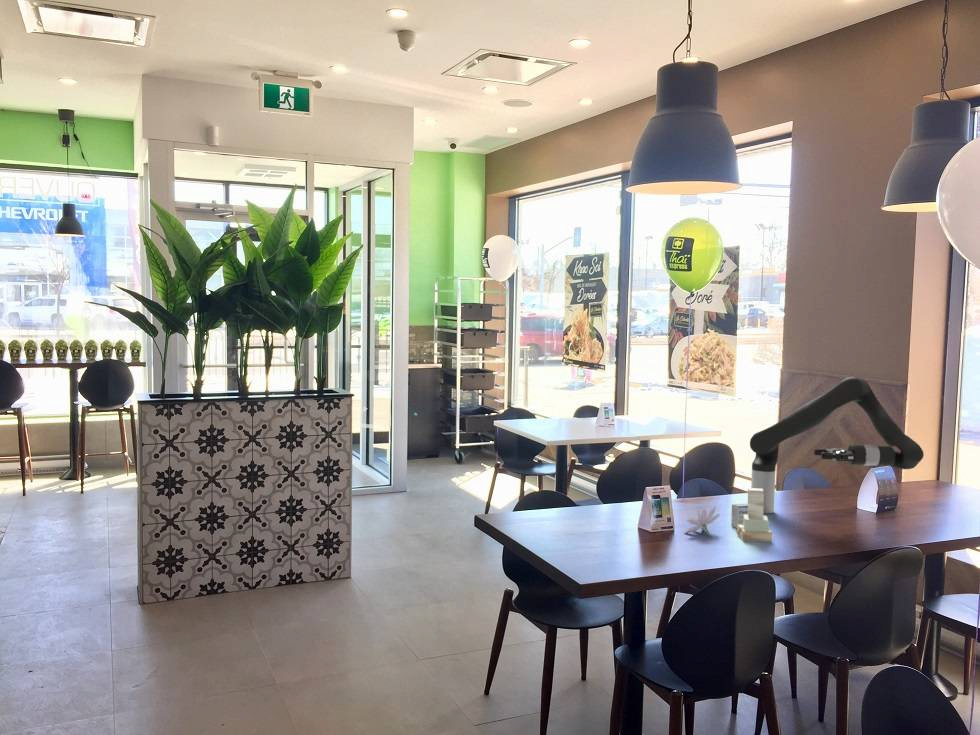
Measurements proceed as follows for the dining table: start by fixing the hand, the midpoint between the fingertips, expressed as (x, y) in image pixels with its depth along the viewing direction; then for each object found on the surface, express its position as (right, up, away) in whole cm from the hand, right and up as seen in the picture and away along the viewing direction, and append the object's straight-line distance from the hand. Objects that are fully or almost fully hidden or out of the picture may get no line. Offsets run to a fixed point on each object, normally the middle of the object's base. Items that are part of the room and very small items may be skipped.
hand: (818, 453), depth 306 cm
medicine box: (-24, -29, +11) cm, 39 cm away
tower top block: (-25, -26, -5) cm, 36 cm away
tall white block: (-25, -22, -5) cm, 34 cm away
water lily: (-43, -30, +1) cm, 52 cm away
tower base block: (-25, -30, -4) cm, 39 cm away
